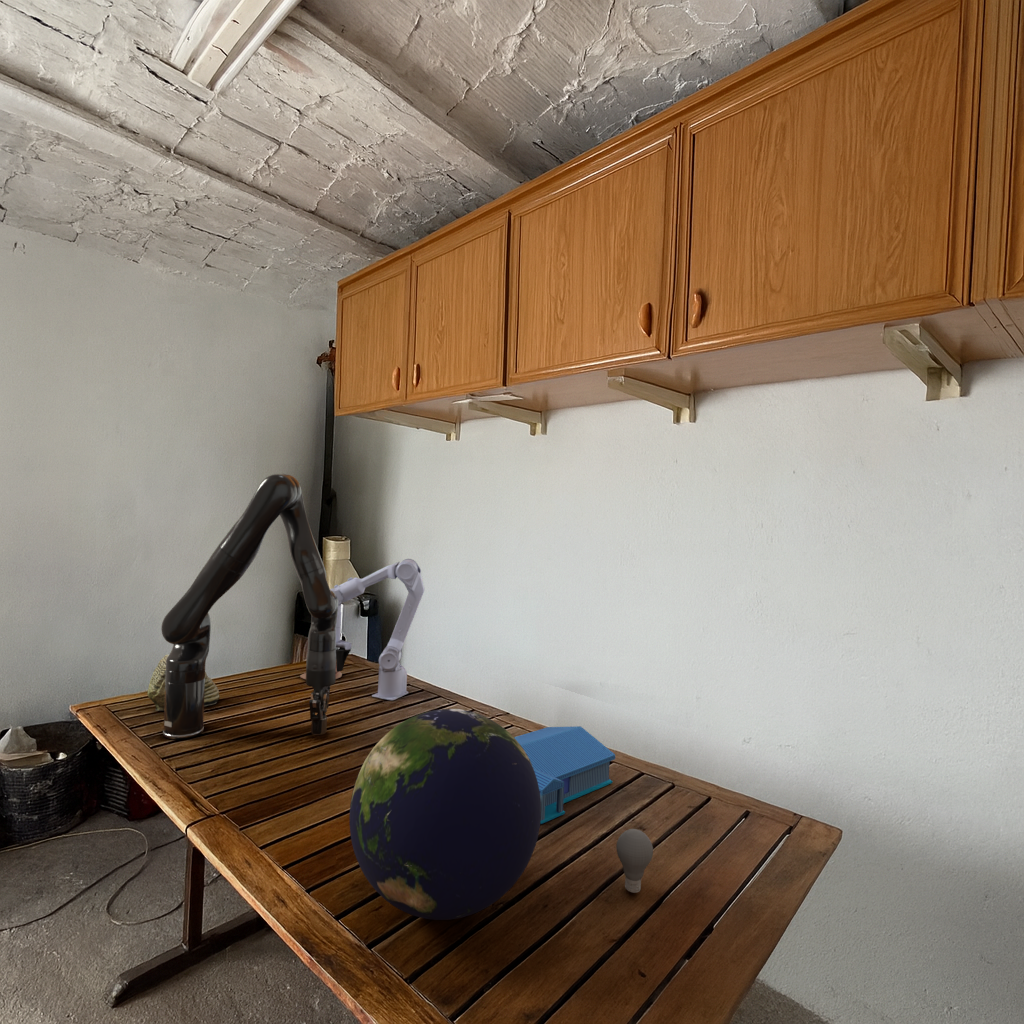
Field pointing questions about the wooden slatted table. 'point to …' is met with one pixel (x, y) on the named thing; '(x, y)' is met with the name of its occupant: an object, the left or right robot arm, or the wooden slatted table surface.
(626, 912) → the wooden slatted table surface
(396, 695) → the right robot arm
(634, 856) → the light bulb
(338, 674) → the anatomical model
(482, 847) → the globe
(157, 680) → the fossil
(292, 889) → the wooden slatted table surface
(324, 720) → the can
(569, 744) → the model building
